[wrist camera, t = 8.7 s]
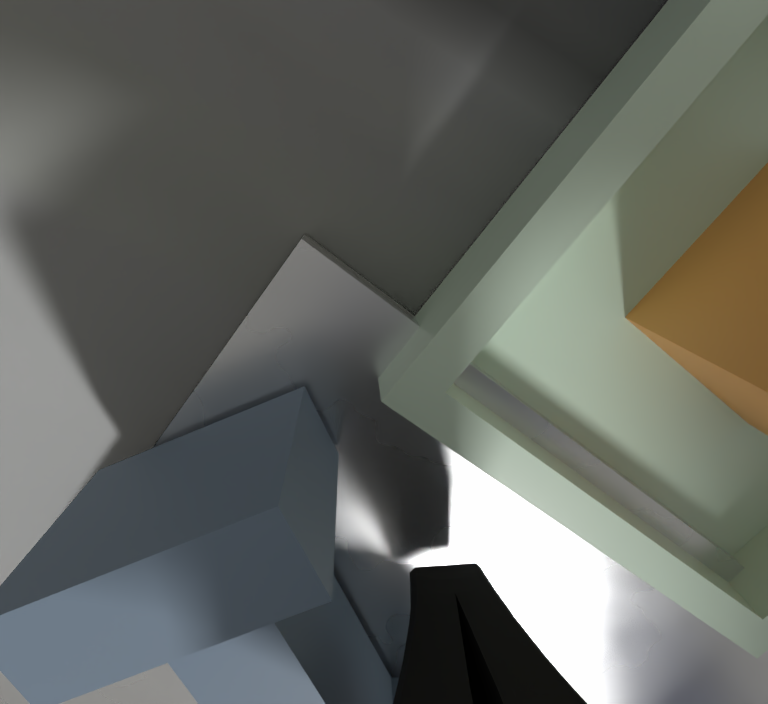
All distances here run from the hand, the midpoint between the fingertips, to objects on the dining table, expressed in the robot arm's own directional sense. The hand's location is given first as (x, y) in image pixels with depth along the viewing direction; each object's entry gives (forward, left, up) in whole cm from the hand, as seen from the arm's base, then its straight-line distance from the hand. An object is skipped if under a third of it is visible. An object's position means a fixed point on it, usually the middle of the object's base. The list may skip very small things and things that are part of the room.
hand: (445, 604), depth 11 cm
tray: (-2, -8, -2) cm, 8 cm away
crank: (+1, +3, -1) cm, 3 cm away
